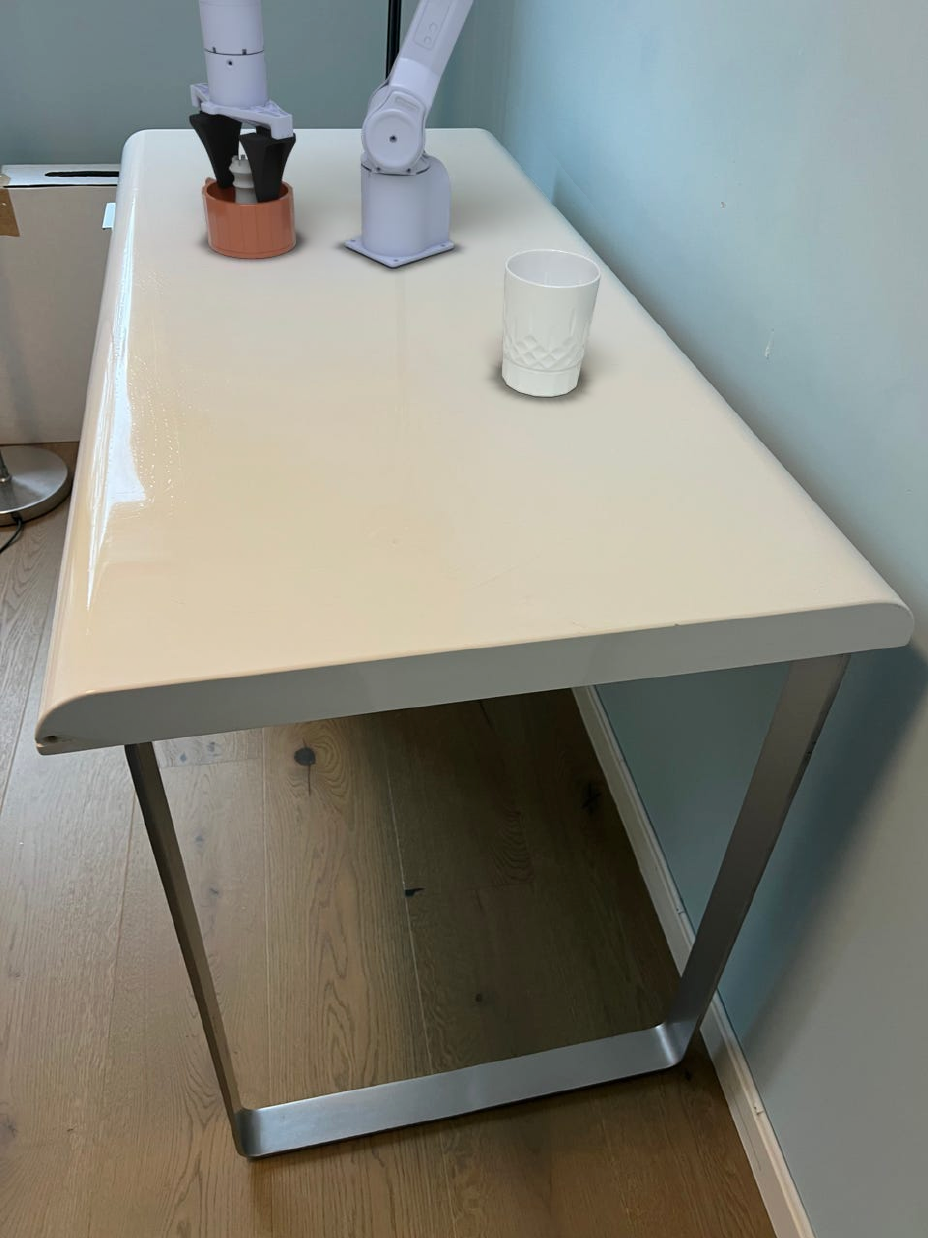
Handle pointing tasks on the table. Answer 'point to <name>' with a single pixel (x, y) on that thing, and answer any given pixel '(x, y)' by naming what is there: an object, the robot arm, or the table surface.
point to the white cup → (547, 319)
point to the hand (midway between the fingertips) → (248, 195)
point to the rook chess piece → (243, 180)
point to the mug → (248, 223)
